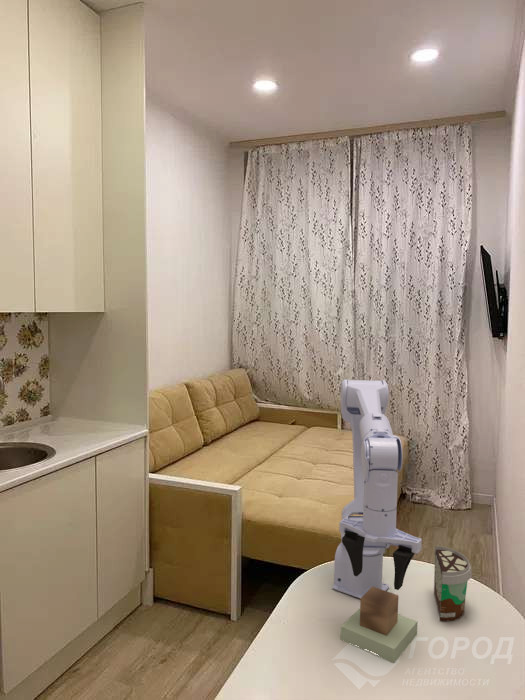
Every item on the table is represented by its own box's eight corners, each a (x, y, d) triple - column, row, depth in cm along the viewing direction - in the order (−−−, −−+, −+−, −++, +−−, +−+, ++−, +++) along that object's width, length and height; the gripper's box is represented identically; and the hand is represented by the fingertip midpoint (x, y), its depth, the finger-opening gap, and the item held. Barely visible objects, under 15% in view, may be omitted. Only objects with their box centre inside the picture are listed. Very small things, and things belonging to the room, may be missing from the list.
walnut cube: (359, 625, 94) (360, 598, 93) (371, 612, 98) (372, 586, 97) (386, 635, 91) (387, 607, 90) (397, 622, 95) (398, 595, 94)
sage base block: (340, 642, 94) (340, 626, 93) (366, 617, 101) (366, 601, 101) (393, 666, 87) (394, 649, 87) (416, 637, 95) (417, 621, 95)
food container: (475, 629, 97) (478, 577, 96) (440, 625, 98) (442, 573, 97) (464, 594, 109) (466, 547, 108) (433, 590, 110) (434, 544, 109)
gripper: (332, 502, 93) (330, 577, 95) (412, 522, 85) (409, 604, 86) (349, 491, 99) (348, 561, 100) (426, 509, 91) (423, 585, 92)
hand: (377, 580), depth 94 cm, fingers open, 7 cm apart
